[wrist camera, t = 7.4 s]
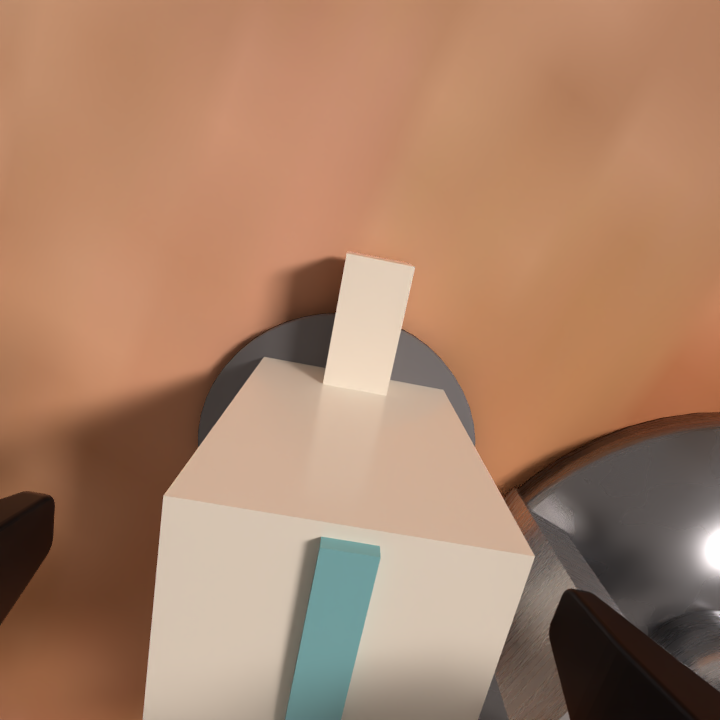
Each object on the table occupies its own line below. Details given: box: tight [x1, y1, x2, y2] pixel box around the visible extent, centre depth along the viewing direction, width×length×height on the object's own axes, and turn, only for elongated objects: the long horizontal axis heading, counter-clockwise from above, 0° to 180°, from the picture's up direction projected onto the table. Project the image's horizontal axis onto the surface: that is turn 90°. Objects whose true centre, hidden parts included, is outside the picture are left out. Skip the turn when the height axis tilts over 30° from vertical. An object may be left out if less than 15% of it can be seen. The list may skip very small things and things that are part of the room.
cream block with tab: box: [143, 251, 535, 720], centre depth 9 cm, size 10×4×6 cm, turn 169°
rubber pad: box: [198, 313, 475, 447], centre depth 12 cm, size 7×7×1 cm
